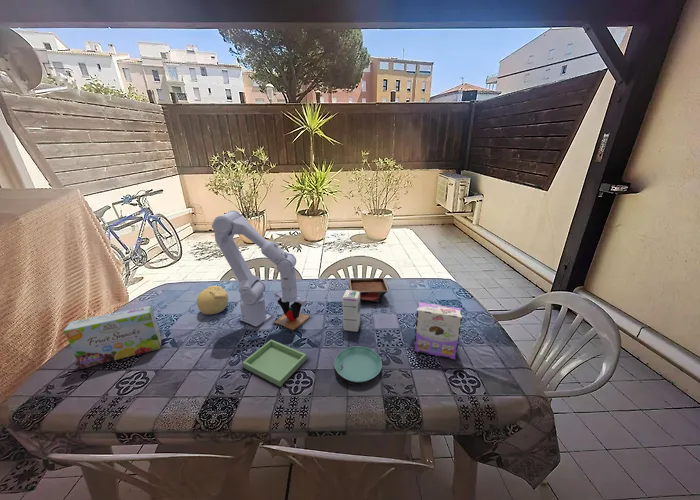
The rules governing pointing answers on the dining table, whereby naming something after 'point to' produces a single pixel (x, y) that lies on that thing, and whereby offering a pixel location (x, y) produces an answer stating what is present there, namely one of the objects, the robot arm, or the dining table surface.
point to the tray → (275, 362)
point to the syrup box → (351, 310)
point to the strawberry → (290, 314)
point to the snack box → (113, 336)
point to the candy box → (437, 330)
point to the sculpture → (212, 300)
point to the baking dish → (369, 288)
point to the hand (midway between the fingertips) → (291, 316)
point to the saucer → (358, 364)
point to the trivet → (292, 324)
